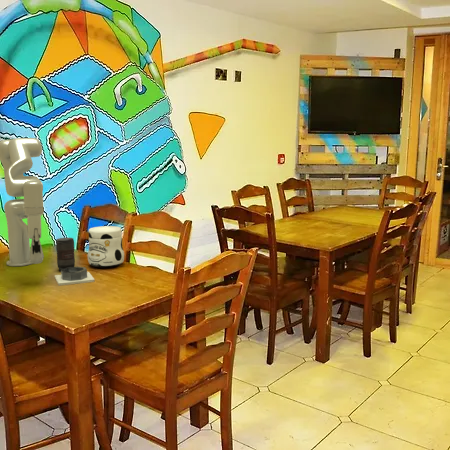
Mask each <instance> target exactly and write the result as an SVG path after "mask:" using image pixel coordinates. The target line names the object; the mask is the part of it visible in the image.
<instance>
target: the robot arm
mask: <svg viewBox="0 0 450 450" xmlns="http://www.w3.org/2000/svg"><path fill="white" fill-rule="evenodd" d="M42 145H43V144H42V143H41V141H40V140H39V139H38V138H37V137H20V138H19V137H17V138H12V139H3V140H0V163H1V164H2V167H3V174H4V186H5V192H6V194H7V195H8V196H9V197H13V198H15V199H10V200H7V201H6V202H5V203H4V205H3V206H4V207H3V208H4V209H3V211H4V214H5V219H6V226H7V239H8V252H9V260H7V261H6V266H10V267H25V266H29V265H34V264H33V263H32V262H31V260H30V258H29V256H30V249H31V244H30V240H32V239H33V245H32V251H33V254H34V250H35V253H38V252H40V254H41V249H40V243H41V240H40V239H41V238H42V215H44V210H45V209H44V194H43V191H44V184H43V182H42V180H41V179H39V178H38V177H37V176H35V175H28V176H26V175H24V173H25V174H26V173H28V171H30V170H31V169H32V168H33V166H34V164H33V160H32V158H39V157H41V155H42V152H43V146H42ZM19 197H23V198H19ZM24 219H27V220H26V222H25V221H24ZM39 235H40V236H39ZM33 237H35V238H33ZM31 238H32V239H31Z"/></svg>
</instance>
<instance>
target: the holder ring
mask: <svg viewBox="0 0 450 450" xmlns="http://www.w3.org/2000/svg"><path fill="white" fill-rule="evenodd" d="M87 272H88V269H87V267H85V266H74V267H67V268H64V269H61V272H60V275H61V278H62V280H68V281H75V280H82V279H84V278H87Z"/></svg>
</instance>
